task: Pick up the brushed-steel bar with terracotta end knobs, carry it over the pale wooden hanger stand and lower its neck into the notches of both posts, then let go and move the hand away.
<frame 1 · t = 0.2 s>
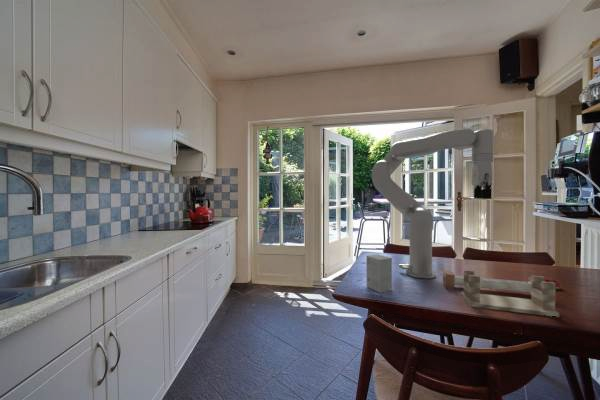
hand: (482, 198, 108), 36 cm above the table, tool pointing down, fingers open, 9 cm apart
hanger stand: (505, 305, 85), on the table
steel bar: (490, 291, 98), on the table
small box: (378, 288, 101), on the table
ladybug figurine: (544, 287, 102), on the table
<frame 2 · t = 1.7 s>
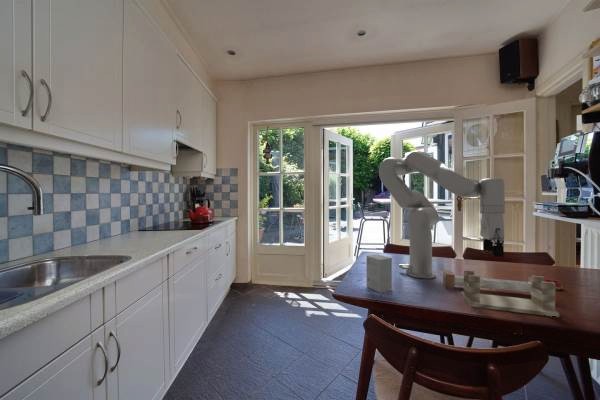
hand: (492, 253, 97), 15 cm above the table, tool pointing down, fingers open, 9 cm apart
nothing on the table moved.
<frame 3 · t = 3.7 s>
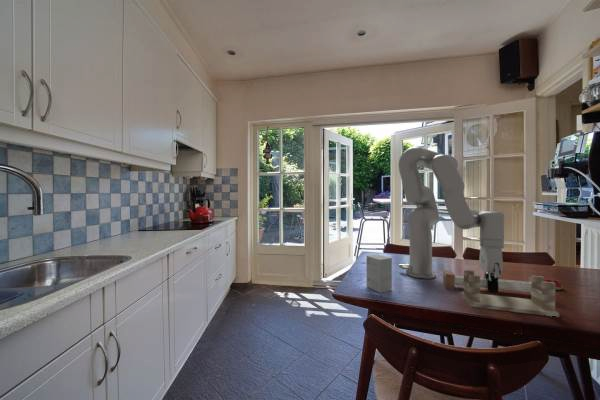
hand: (490, 289, 98), 1 cm above the table, tool pointing down, fingers closed on steel bar, 3 cm apart
steel bar: (490, 290, 98), on the table, touching gripper
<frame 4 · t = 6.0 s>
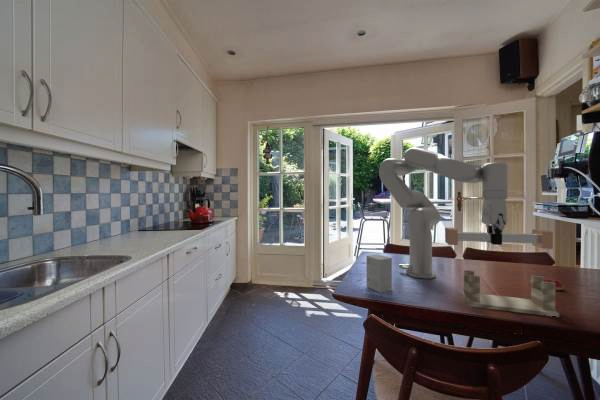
hand: (494, 243, 95), 19 cm above the table, tool pointing down, fingers closed on steel bar, 3 cm apart
steel bar: (494, 245, 95), point 19 cm above the table, touching gripper
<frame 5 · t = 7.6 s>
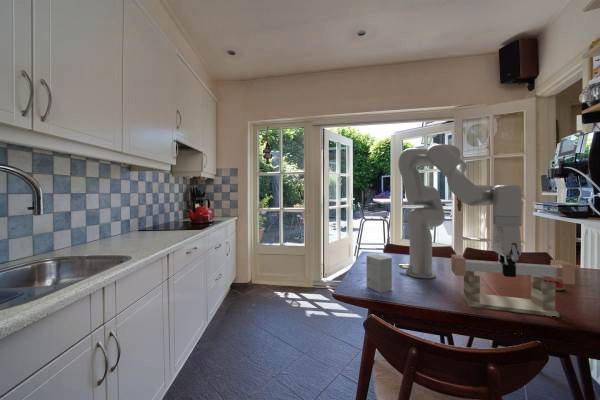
hand: (507, 274, 85), 11 cm above the table, tool pointing down, fingers closed on steel bar, 3 cm apart
steel bar: (507, 276, 85), point 10 cm above the table, touching gripper
when the fingers open (6 cm above the table, at t = 8.7 s): steel bar stays where it is, resting on hanger stand.
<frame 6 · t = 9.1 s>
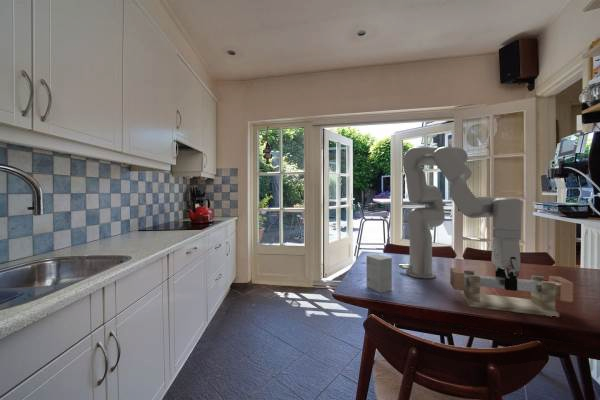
hand: (505, 285, 85), 7 cm above the table, tool pointing down, fingers open, 6 cm apart
steel bar: (505, 291, 85), point 4 cm above the table, touching hanger stand
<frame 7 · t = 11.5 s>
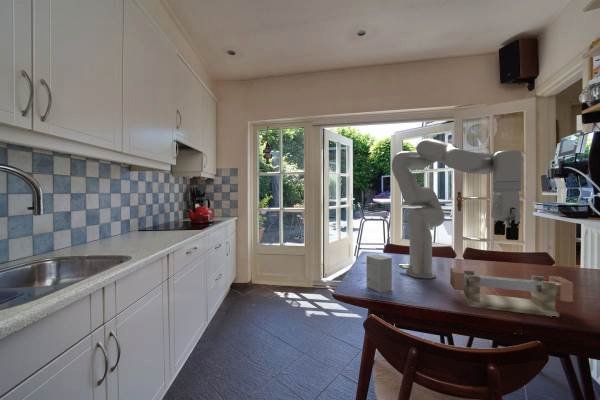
hand: (505, 237, 85), 23 cm above the table, tool pointing down, fingers open, 9 cm apart
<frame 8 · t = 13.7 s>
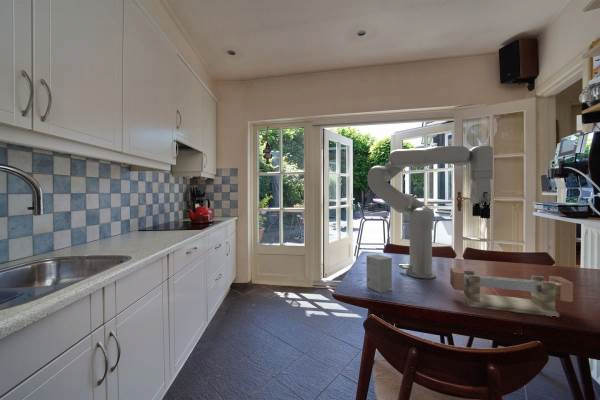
hand: (480, 217, 104), 28 cm above the table, tool pointing down, fingers open, 9 cm apart
at the end: steel bar 0.0 cm off-centre on the hanger stand, point 4.5 cm above the hanger stand's base; steel bar tilted 0°; the gripper is holding nothing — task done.
